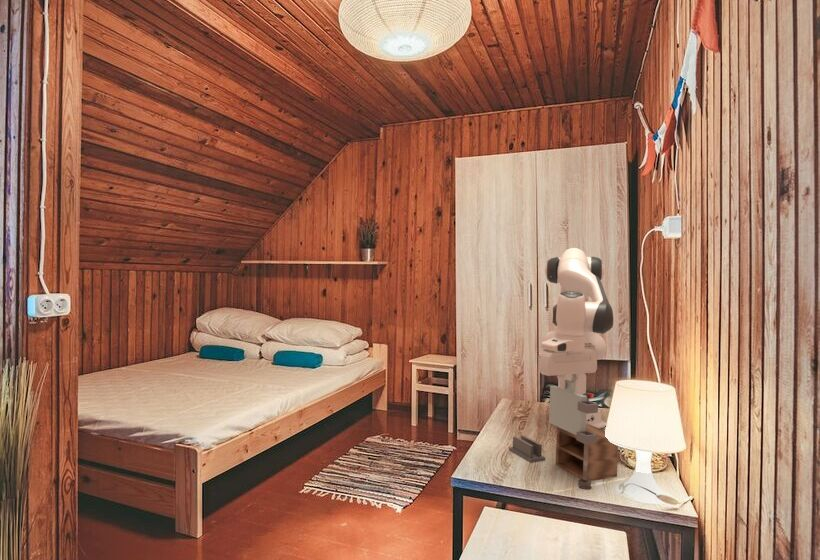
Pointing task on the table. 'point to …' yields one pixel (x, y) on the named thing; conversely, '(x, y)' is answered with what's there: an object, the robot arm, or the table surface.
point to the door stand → (527, 449)
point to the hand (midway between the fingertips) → (568, 388)
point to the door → (571, 412)
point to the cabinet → (586, 456)
